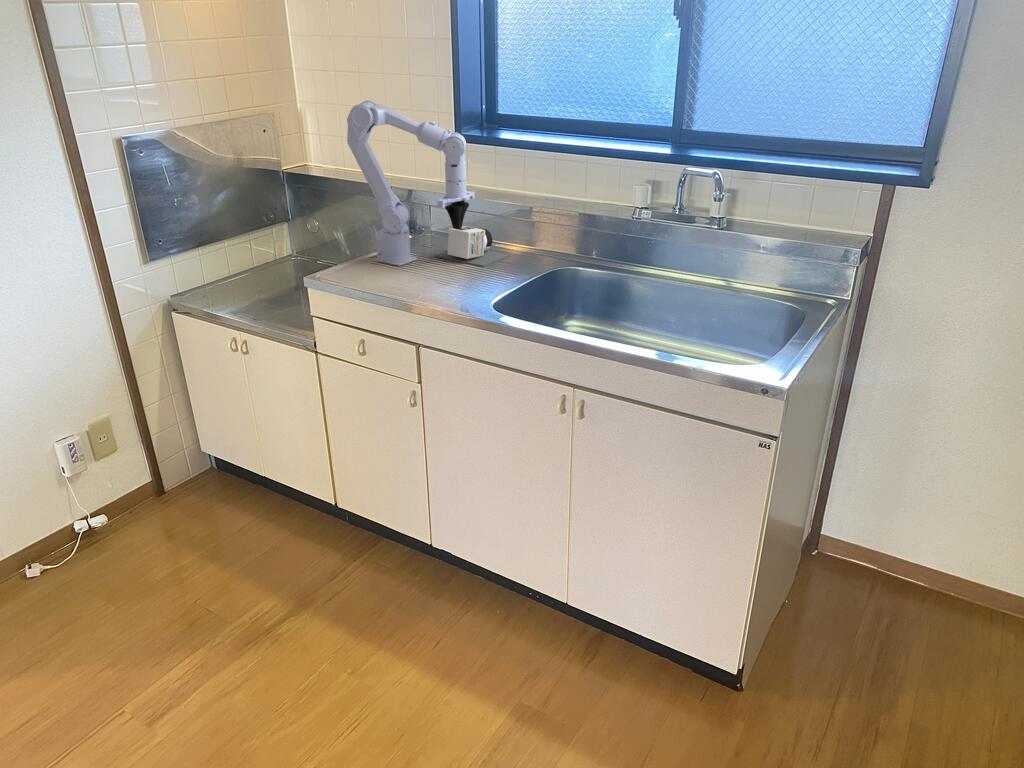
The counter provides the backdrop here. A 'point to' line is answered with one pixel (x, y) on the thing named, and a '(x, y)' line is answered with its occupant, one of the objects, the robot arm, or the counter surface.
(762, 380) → the counter surface
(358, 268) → the counter surface
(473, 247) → the container
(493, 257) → the mat
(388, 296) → the counter surface
